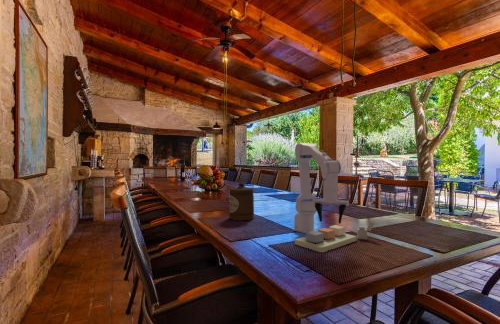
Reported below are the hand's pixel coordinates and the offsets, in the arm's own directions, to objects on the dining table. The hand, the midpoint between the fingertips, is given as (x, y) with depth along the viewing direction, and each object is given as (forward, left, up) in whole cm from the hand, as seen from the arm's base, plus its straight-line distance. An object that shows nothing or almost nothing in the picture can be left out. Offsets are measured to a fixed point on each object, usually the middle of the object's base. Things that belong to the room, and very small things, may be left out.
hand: (330, 222), depth 117 cm
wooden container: (-65, +3, -10) cm, 66 cm away
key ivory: (-4, +11, -7) cm, 13 cm away
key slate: (-4, -5, -7) cm, 10 cm away
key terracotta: (-4, +3, -7) cm, 9 cm away
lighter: (+4, +21, -10) cm, 24 cm away
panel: (-4, +3, -10) cm, 11 cm away
